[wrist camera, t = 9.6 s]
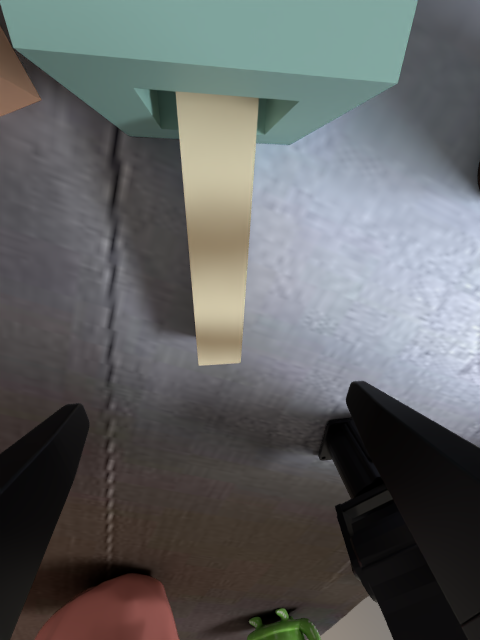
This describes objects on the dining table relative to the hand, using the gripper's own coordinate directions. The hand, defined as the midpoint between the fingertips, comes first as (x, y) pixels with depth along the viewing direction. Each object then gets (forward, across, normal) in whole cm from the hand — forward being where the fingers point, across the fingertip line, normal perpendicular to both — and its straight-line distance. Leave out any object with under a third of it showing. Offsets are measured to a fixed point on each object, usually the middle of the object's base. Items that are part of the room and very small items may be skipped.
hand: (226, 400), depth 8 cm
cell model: (+11, +16, +49) cm, 52 cm away
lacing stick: (+9, 0, -6) cm, 11 cm away
